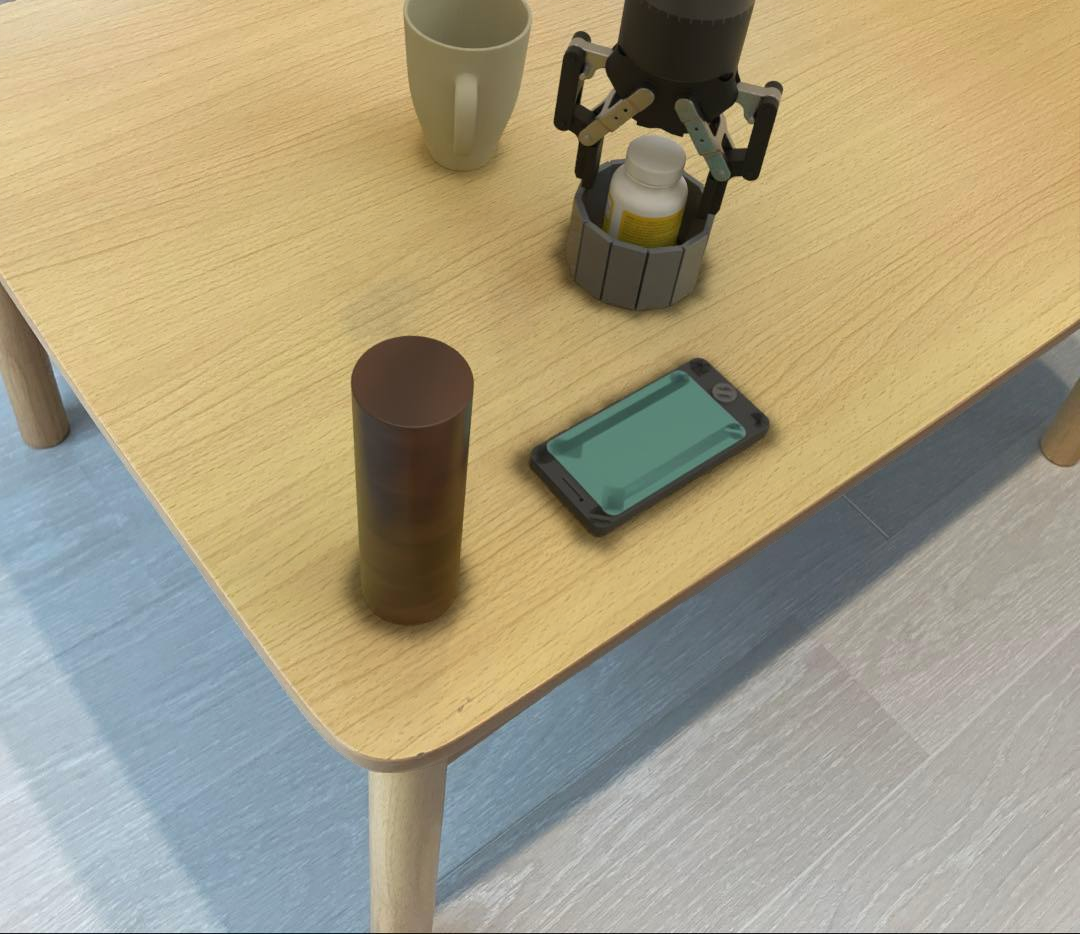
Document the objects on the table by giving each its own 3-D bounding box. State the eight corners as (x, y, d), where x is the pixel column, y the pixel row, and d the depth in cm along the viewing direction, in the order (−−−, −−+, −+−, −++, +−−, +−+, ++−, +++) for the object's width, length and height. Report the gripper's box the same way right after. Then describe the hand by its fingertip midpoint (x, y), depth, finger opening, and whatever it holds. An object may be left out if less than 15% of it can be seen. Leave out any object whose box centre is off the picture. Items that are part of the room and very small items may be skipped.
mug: (369, 145, 91) (366, 4, 81) (469, 101, 95) (477, -38, 86) (457, 224, 87) (465, 85, 77) (558, 174, 91) (577, 37, 81)
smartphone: (775, 421, 77) (599, 529, 70) (770, 433, 78) (596, 540, 71) (699, 350, 80) (524, 447, 73) (695, 363, 81) (522, 459, 74)
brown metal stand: (470, 558, 70) (489, 353, 55) (439, 637, 66) (451, 442, 52) (381, 531, 70) (377, 321, 56) (346, 608, 67) (331, 407, 52)
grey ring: (710, 236, 88) (726, 178, 84) (683, 324, 83) (699, 267, 78) (586, 203, 89) (595, 144, 85) (551, 288, 84) (560, 229, 79)
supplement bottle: (684, 271, 86) (713, 164, 78) (625, 297, 84) (649, 189, 76) (640, 227, 88) (663, 118, 81) (581, 251, 86) (600, 141, 78)
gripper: (558, -19, 67) (532, 204, 80) (805, 43, 65) (737, 260, 78) (591, -83, 71) (561, 138, 84) (823, -26, 70) (756, 190, 83)
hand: (646, 196), depth 81 cm, fingers open, 7 cm apart
